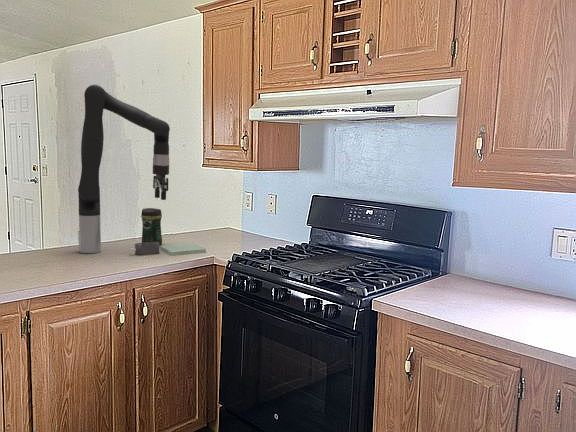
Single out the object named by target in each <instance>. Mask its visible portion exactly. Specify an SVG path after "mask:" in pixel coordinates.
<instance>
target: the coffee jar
mask: <svg viewBox="0 0 576 432" xmlns="http://www.w3.org/2000/svg"><path fill="white" fill-rule="evenodd" d="M140 217H141V221H142V230H141V243H144V242H159V247H160V246H162V244H163V237H162V225H161V223H162V217H163V213H162V210H161V209H160V208H153V207H146V208H145V207H144V208H142V210H141V216H140Z"/></svg>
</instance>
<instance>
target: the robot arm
mask: <svg viewBox="0 0 576 432" xmlns="http://www.w3.org/2000/svg"><path fill="white" fill-rule="evenodd" d="M83 97H84V121H83V126H82V134H81V142H80V160H81V173H80V178H79V179H80V180H79V184H78V186H77V187H78V188H77V192H78V193H77V194H78V231H77V232H78V233H77V235H78V236H77V237H78V239H77V241H78V251H79V253H81V254H96V253H100V252H101V251H102V237H101V236H102V235H101V231H102V230H101V228H102V227H101V189H100V188H101V187H100V174H99V173H100V168H101V163H102V158H103V150H104V140H105V139H104V138H105V137H104V123H103V116H104V115H103V114H104V110H106V111H108V112H112V113H114V114H116V115H118V116H119V117H121V118H123V119H125V120H126V121H128V122H130V123H132V124H134V125H136V126H138V127H141V128H143V129H146V130H148V131H149V132H151V133H153V136H154V137H153V138H154V140H153V141H154V143H153V157H152V174H153V176H152V177H153V179H152V183H153V184H152V188H153V189H154V198H155V199H158V198H160V200H162V201H166V200H167V192H168V191H169V178H168V177H166V176H169V174H170V145H169V144H170V143H169V141H170V131H171V129H170V125H169V123H168V122H166V121H164V120H162V119H160V118H158V117H155V116H152V115H151V114H150V113H148V112H146V111H144V110H142V109H140V108H138V107H137V106H133V105H131V104H128V103H126V102H123V101H122V100H119V99H118V98H116V97H114V96H113V95H111V94H109V93H108V92H107V91H106V90H105V88H104V87H102V86H100V85H99V84H90V85H88V87H86V89H85V91H84V95H83Z"/></svg>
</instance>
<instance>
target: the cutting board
mask: <svg viewBox="0 0 576 432" xmlns="http://www.w3.org/2000/svg"><path fill="white" fill-rule="evenodd" d="M159 250H161V251H163V252H164V253H166V254H167V255H170V256H171V257H172V256H180V255H191V254H192V253H194V254H203V253H204V254H205V253H207V248H204V247H202V246H200V245H198V244H196V243H194V242H193V243H192V242H191V243H177V244H166V245H165V244H164V245H160V246H159Z"/></svg>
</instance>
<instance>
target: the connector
mask: <svg viewBox="0 0 576 432" xmlns="http://www.w3.org/2000/svg"><path fill="white" fill-rule="evenodd" d="M128 251H129V252H134V253H135V254H134V255H135V256H138V257H139V256H151V255H158V254H160V246H159V242H144V243H142V242H136V243H134V247H131V248H129V250H128Z"/></svg>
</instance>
